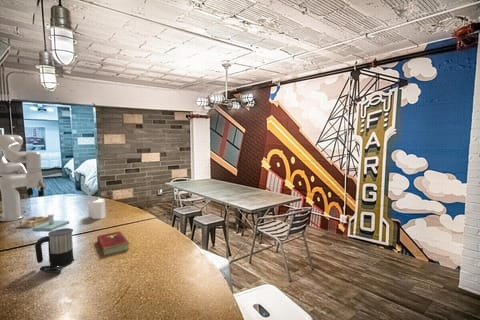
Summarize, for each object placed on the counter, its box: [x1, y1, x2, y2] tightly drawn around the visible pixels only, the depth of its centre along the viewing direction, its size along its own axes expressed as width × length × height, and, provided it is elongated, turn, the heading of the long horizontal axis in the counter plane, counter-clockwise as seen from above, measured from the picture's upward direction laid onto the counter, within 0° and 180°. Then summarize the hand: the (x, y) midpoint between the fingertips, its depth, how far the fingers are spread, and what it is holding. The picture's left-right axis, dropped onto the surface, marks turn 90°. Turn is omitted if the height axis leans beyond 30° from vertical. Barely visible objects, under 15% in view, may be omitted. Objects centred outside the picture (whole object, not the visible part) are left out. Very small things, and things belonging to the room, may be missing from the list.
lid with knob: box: [32, 213, 70, 232], centre depth 163 cm, size 13×14×8 cm
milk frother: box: [34, 228, 75, 275], centre depth 110 cm, size 14×16×15 cm
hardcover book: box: [96, 230, 130, 256], centre depth 133 cm, size 12×21×4 cm, turn 36°
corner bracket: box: [88, 198, 107, 220], centre depth 184 cm, size 11×11×12 cm
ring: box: [18, 215, 49, 228], centre depth 168 cm, size 11×11×4 cm
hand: (35, 195), depth 168 cm, fingers open, 9 cm apart
